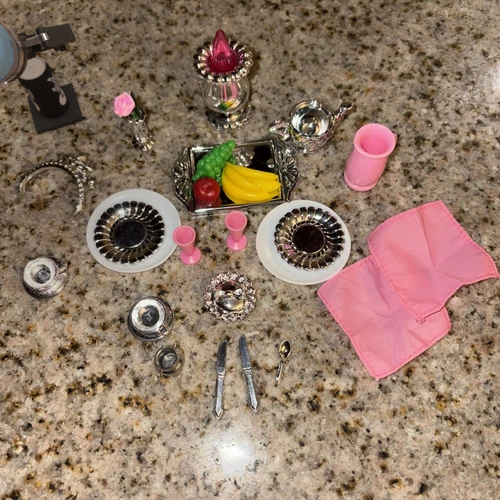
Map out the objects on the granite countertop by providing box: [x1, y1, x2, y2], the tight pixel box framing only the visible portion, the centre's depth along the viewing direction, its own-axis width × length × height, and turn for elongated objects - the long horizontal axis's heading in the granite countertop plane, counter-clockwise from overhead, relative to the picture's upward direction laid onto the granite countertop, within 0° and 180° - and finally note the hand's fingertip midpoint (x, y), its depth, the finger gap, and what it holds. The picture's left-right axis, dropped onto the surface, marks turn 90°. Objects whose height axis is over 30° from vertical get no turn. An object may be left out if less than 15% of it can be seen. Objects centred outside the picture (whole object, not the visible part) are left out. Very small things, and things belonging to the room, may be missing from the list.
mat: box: [26, 82, 84, 135], centre depth 106 cm, size 10×10×1 cm
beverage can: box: [17, 55, 68, 117], centre depth 100 cm, size 7×7×12 cm
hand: (14, 57), depth 79 cm, fingers open, 13 cm apart
